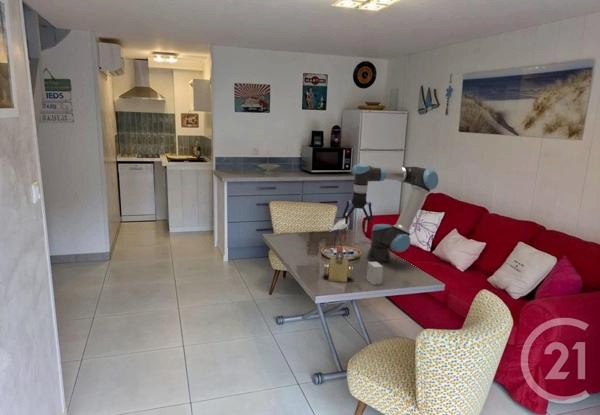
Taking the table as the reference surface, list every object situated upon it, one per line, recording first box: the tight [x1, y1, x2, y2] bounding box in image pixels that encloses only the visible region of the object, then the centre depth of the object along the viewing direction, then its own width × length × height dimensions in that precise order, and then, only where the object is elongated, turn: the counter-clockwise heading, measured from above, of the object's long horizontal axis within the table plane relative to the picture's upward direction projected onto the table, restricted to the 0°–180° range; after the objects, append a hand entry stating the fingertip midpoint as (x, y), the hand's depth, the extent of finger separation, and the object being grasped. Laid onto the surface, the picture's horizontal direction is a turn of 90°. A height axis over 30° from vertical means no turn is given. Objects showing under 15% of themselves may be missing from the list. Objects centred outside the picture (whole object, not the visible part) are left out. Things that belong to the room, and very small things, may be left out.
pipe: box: [323, 262, 354, 280], centre depth 231 cm, size 16×8×8 cm, turn 84°
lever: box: [335, 246, 345, 260], centre depth 235 cm, size 17×4×3 cm, turn 174°
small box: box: [365, 261, 384, 286], centre depth 229 cm, size 8×6×10 cm
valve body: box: [325, 257, 352, 283], centre depth 231 cm, size 14×9×11 cm, turn 84°
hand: (356, 230), depth 237 cm, fingers open, 10 cm apart
